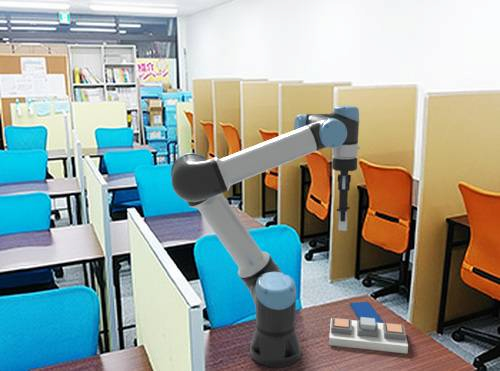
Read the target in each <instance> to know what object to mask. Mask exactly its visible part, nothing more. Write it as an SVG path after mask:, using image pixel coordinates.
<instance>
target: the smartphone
mask: <svg viewBox="0 0 500 371" xmlns="http://www.w3.org/2000/svg"><path fill="white" fill-rule="evenodd" d="M349 307H350V308H351V309H352V312H353V313H354V314H355V316H356V318H357V320H360V318H361V317H365V318H375V322H377V323H384V321H383V318H381V316H380V315H379V314H378V312H377V311H376V310H375V308H374V307H373V306H372V304H370V302H368V301H363V302H362V301H361V302H360V301H359V302H350V303H349Z"/></svg>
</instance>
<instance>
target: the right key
mask: <svg viewBox="0 0 500 371" xmlns="http://www.w3.org/2000/svg"><path fill="white" fill-rule="evenodd" d="M386 323H387V324H386V332H389V333H399V334H403V332H402V326H401V325H399V324H400V323H392V324H388V323H389V322H386Z"/></svg>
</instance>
